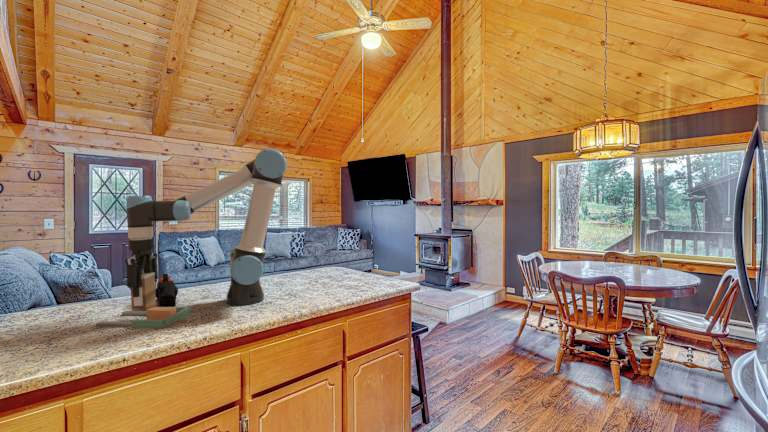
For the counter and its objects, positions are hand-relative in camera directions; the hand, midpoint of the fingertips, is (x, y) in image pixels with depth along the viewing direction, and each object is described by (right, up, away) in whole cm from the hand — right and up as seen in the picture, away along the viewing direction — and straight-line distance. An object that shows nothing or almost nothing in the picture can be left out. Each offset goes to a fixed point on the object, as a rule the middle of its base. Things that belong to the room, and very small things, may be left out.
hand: (144, 302), depth 127 cm
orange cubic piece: (+4, -6, 0) cm, 7 cm away
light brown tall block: (0, -2, 0) cm, 2 cm away
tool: (-4, -6, +19) cm, 21 cm away
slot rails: (-6, -6, 0) cm, 8 cm away
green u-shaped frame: (+6, -6, 0) cm, 9 cm away
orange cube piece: (+8, -6, 0) cm, 10 cm away
